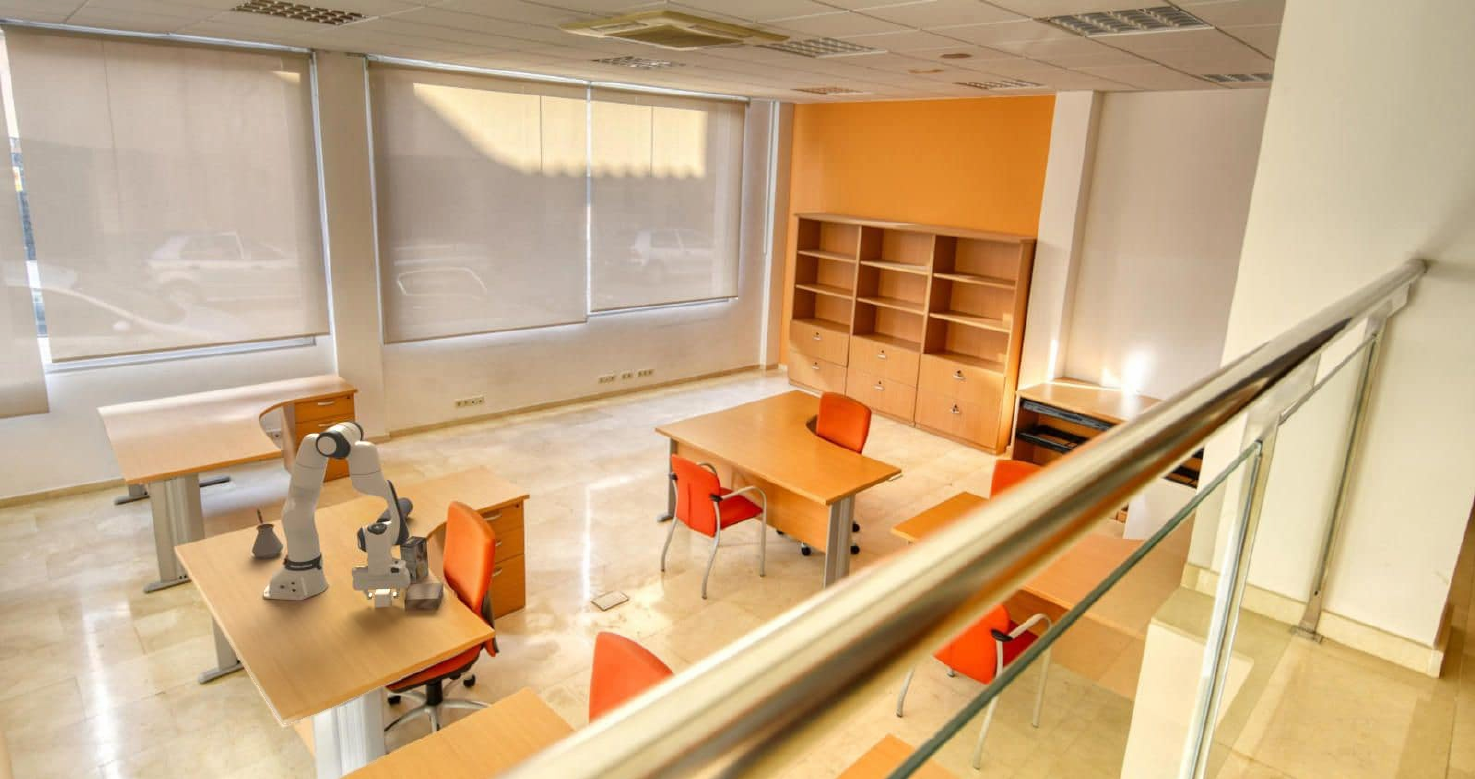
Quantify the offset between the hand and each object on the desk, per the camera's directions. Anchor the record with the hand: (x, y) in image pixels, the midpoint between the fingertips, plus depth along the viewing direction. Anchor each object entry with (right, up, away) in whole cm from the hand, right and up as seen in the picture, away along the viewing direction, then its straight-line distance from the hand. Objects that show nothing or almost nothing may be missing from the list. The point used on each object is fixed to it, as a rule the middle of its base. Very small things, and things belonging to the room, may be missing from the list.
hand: (383, 598), depth 331 cm
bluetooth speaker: (-20, +17, +64) cm, 70 cm away
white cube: (0, -2, +1) cm, 2 cm away
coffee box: (+5, +3, +21) cm, 22 cm away
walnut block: (+15, -2, +3) cm, 15 cm away
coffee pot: (-65, +11, +38) cm, 76 cm away
